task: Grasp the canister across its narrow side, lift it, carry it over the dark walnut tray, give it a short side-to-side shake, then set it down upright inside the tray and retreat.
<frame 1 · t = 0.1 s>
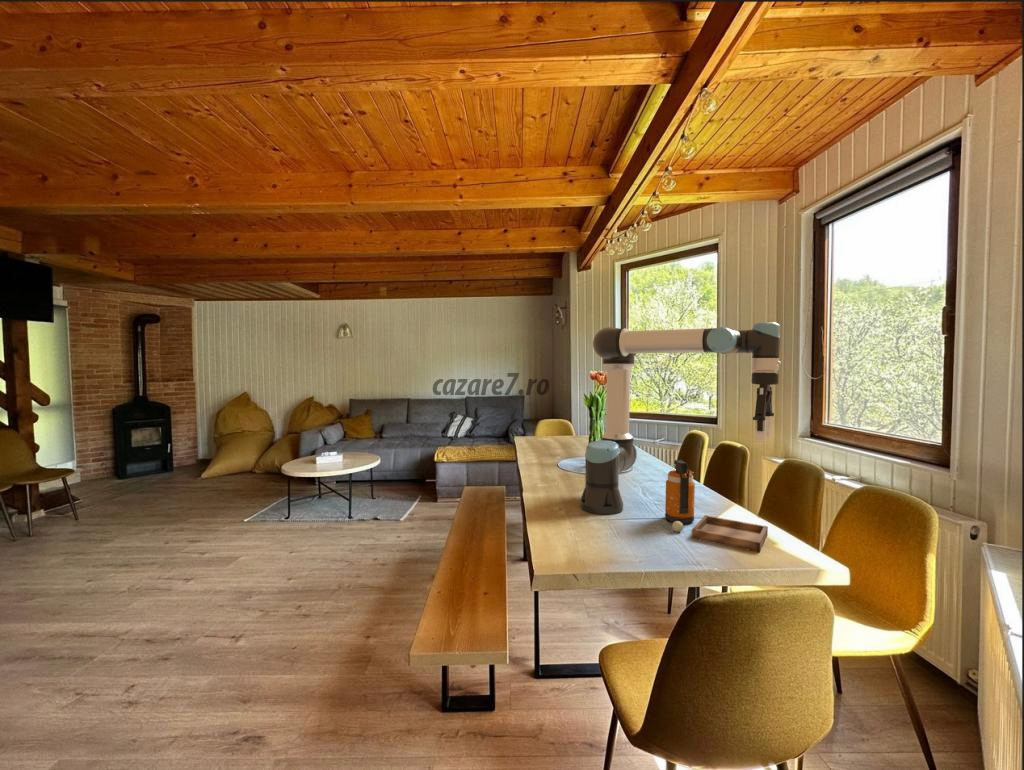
hand: (763, 438, 149), 28 cm above the table, fingers open, 13 cm apart
canister: (680, 522, 154), on the table
tray: (730, 536, 141), on the table
ball: (677, 531, 145), on the table
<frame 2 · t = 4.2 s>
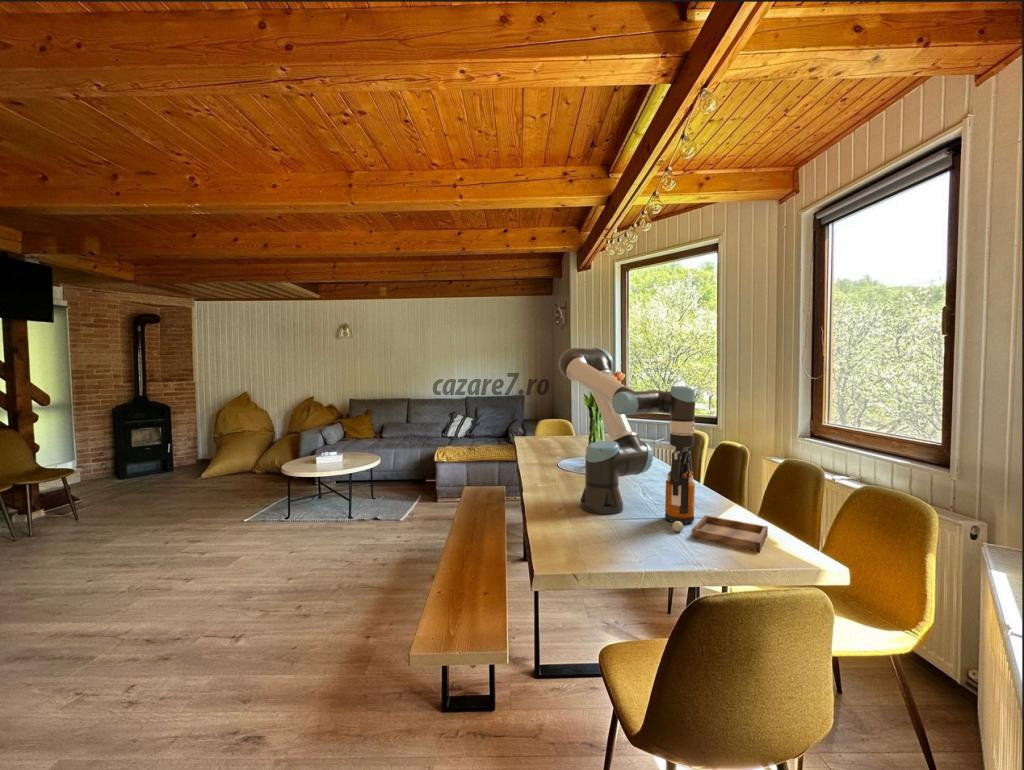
hand: (680, 500, 154), 7 cm above the table, fingers closed on canister, 10 cm apart
canister: (680, 521, 154), on the table, touching gripper
everything else where it was.
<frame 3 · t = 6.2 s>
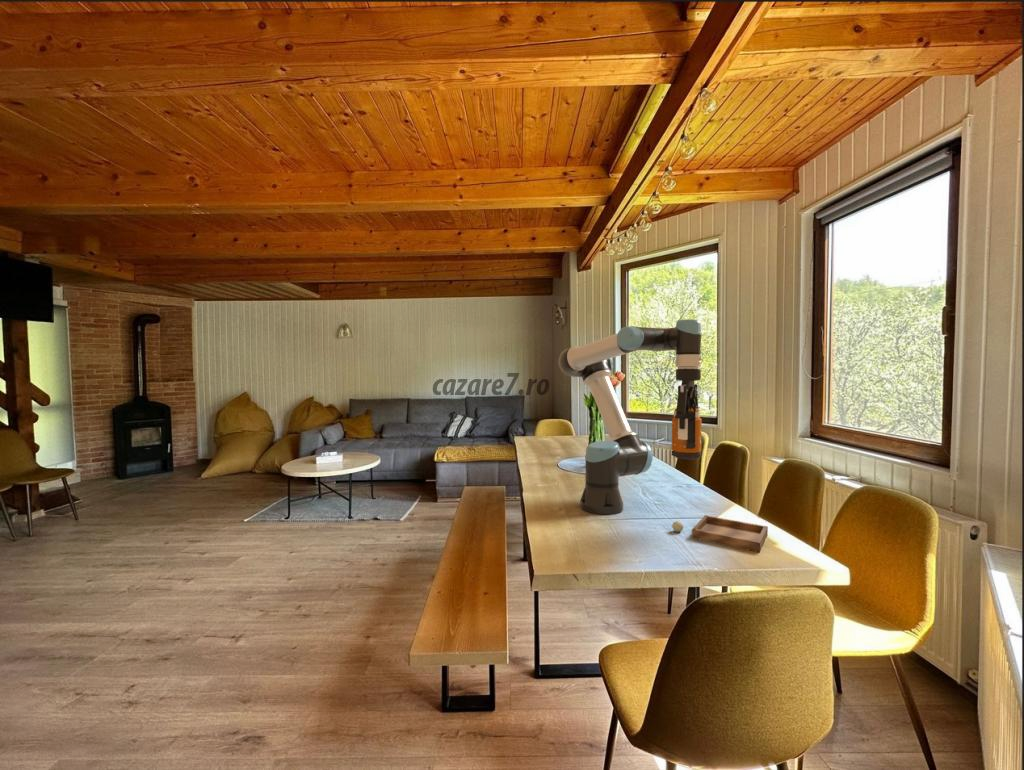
hand: (687, 437, 151), 28 cm above the table, fingers closed on canister, 10 cm apart
canister: (687, 458, 151), point 21 cm above the table, touching gripper
everything else where it was.
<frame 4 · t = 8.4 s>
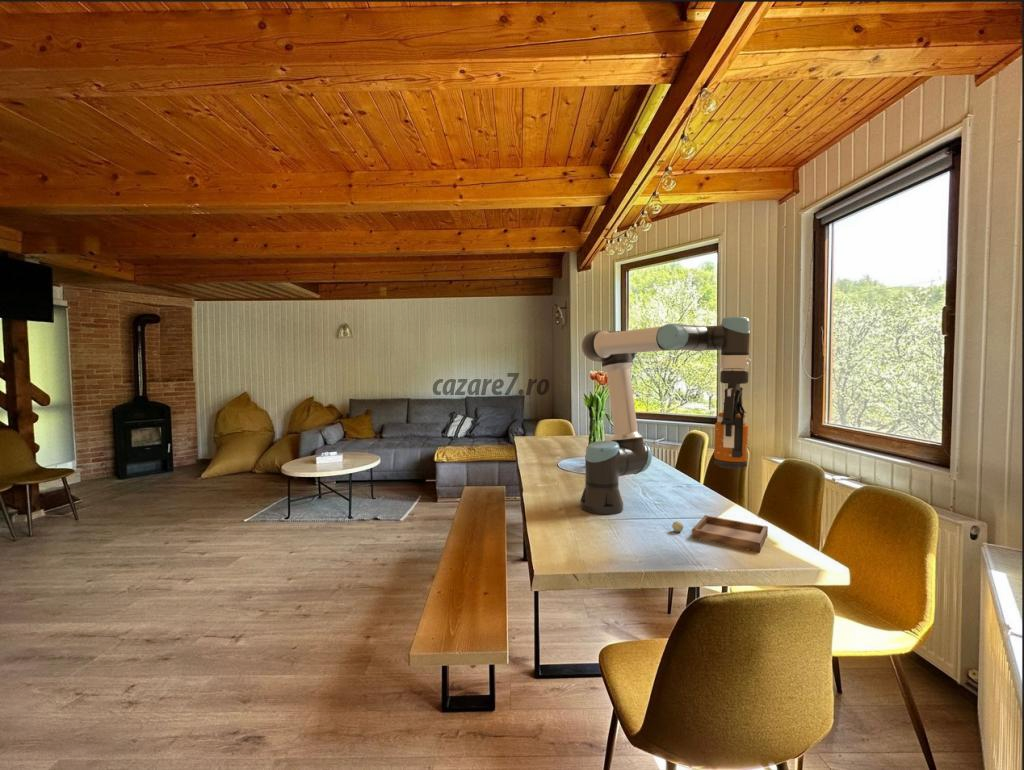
hand: (732, 444, 140), 28 cm above the table, fingers closed on canister, 10 cm apart
canister: (731, 468, 140), point 21 cm above the table, touching gripper
everything else where it was.
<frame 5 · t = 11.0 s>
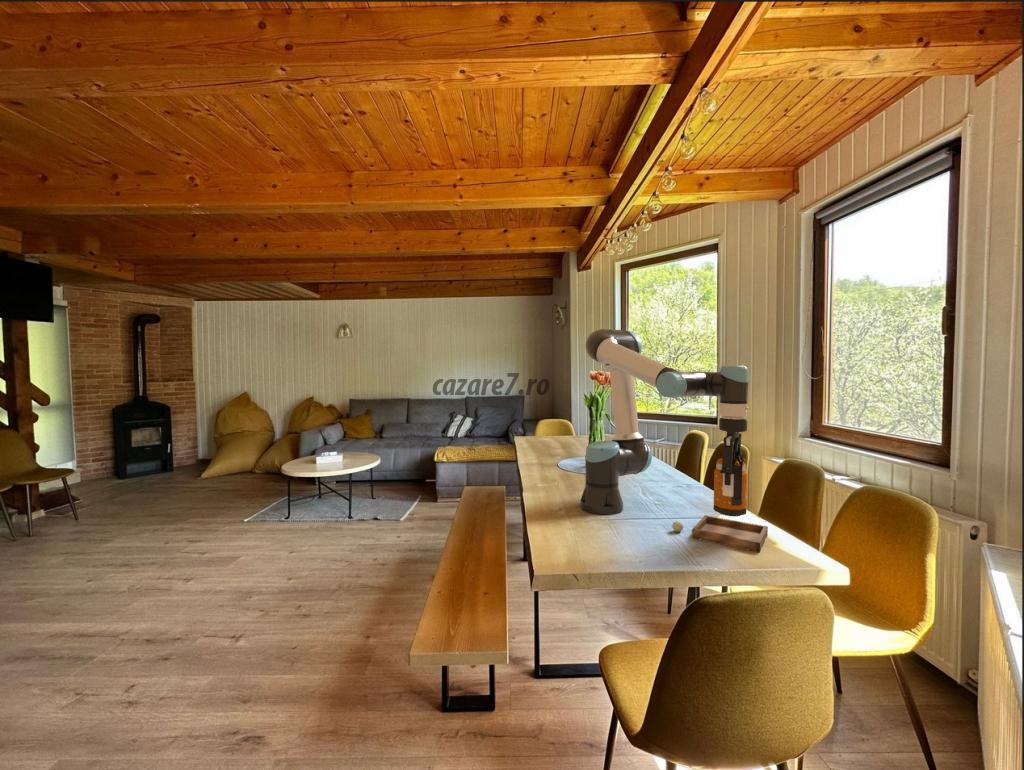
hand: (731, 491, 140), 14 cm above the table, fingers closed on canister, 10 cm apart
canister: (730, 514, 140), point 7 cm above the table, touching gripper
everything else where it was.
when the fingers open (9 cm above the table, at t = 13.1 s): canister drops 1 cm, resting on tray.
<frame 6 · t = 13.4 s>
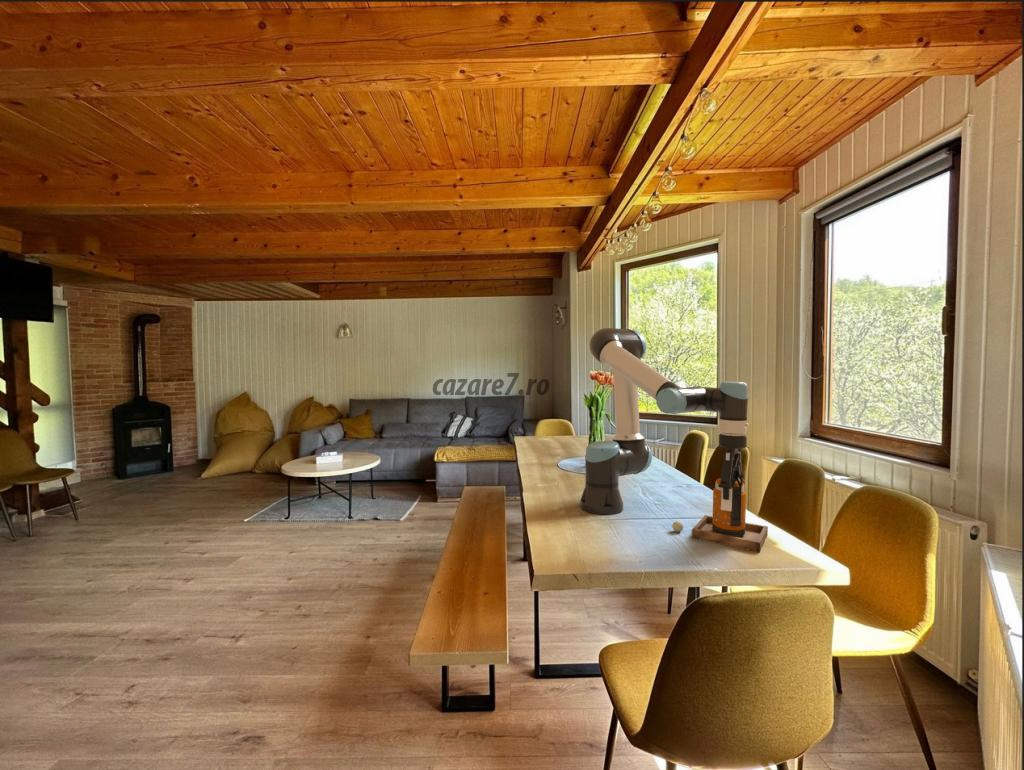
hand: (730, 504, 140), 10 cm above the table, fingers open, 13 cm apart
canister: (729, 534, 141), point 1 cm above the table, touching tray
everything else where it was.
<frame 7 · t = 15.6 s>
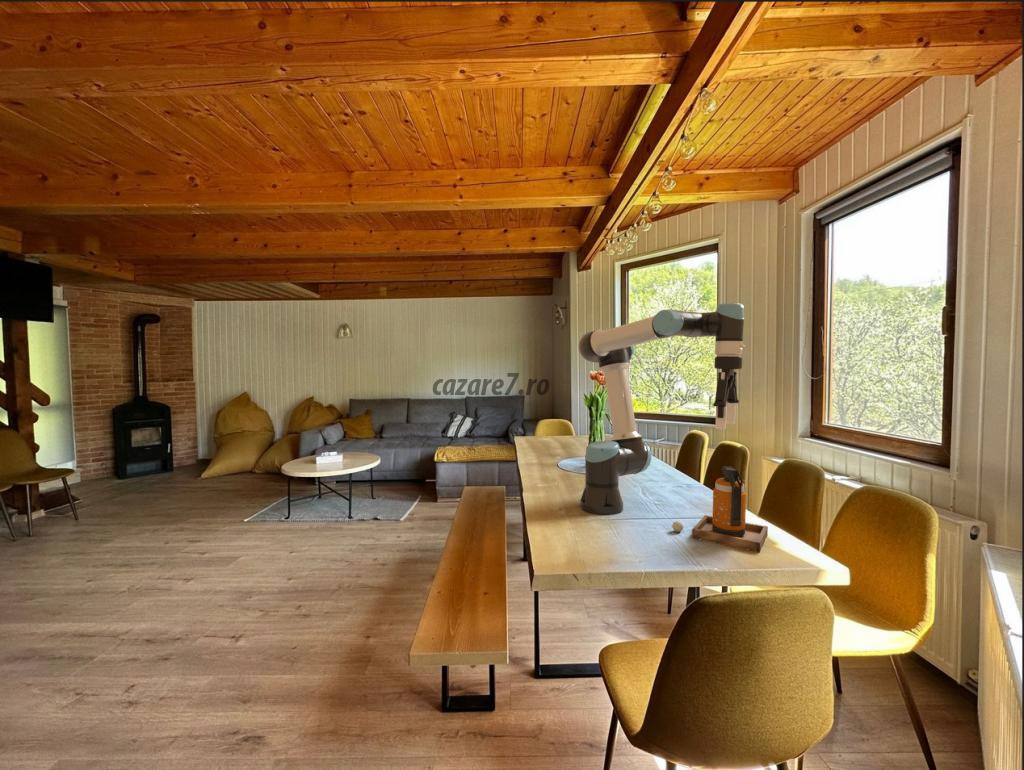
hand: (725, 426, 142), 33 cm above the table, fingers open, 13 cm apart
nothing on the table moved.
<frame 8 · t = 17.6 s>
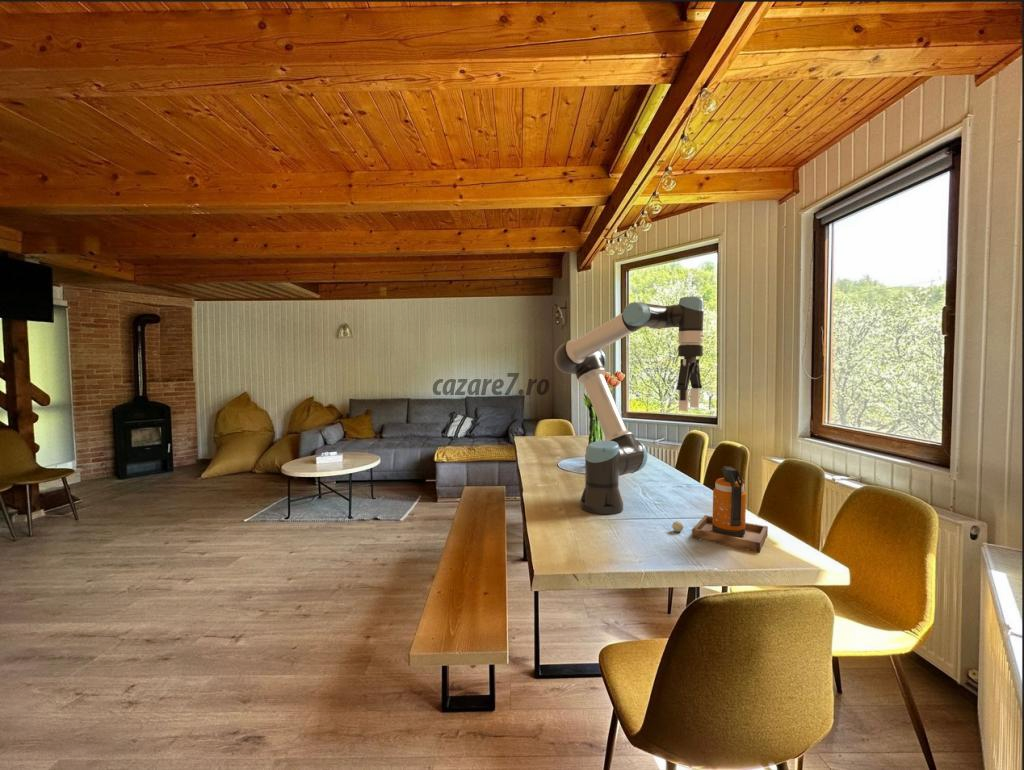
hand: (689, 409, 155), 37 cm above the table, fingers open, 13 cm apart
nothing on the table moved.
at the end: canister inside the target area on the tray (0.5 cm from its centre), point 0.6 cm above the tray's base; canister tilted 0°; the gripper is holding nothing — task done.
